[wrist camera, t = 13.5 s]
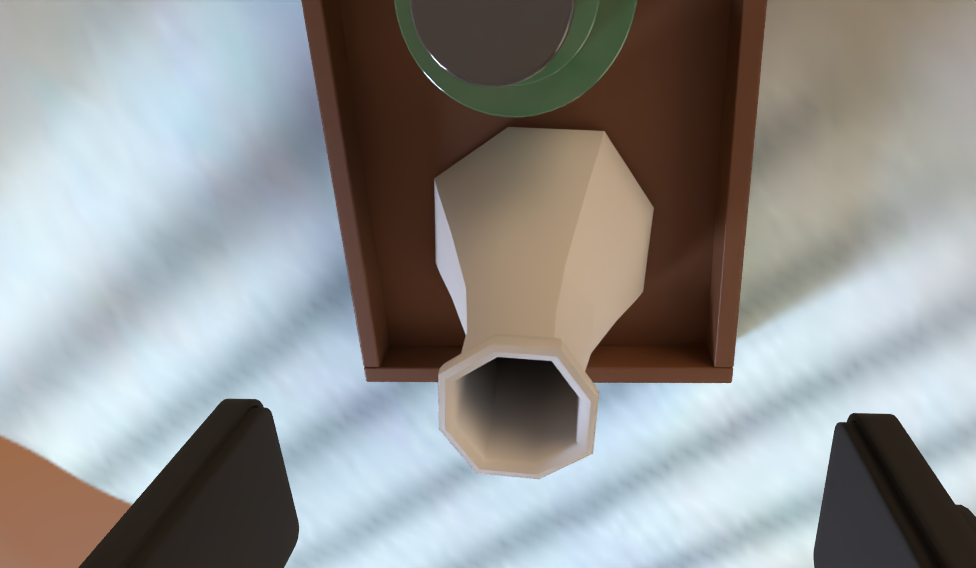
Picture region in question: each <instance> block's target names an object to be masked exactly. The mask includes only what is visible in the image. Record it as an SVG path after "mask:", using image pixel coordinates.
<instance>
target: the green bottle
mask: <svg viewBox="0 0 976 568" xmlns="http://www.w3.org/2000/svg"><path fill="white" fill-rule="evenodd" d="M394 4H395V10H396V16H397V20H398V24H399V27H400V30H401V33H402V36H403V38H404V41H405V43H406V45H407V48H408V50H409V52H410V53H411V55H412V57H413V58H414V60H415V62H416V63H417V65H418V66H419V67H420V69H421V70H422V71H423V73H424V74H425V75H426V77H427V78H428V79H429V80H430V81H431V82H432V83H433V84H434V85H435V86H436V87H437V88H439V89H440V90H441V91H442V92H444V93H445V94H446V95H447V96H449V97H450V98H452V99H454V100H455V101H457V102H459V103H460V104H462V105H464V106H466V107H469V108H471V109H473V110H475V111H479V112H482V113H486V114H489V115H495V116H501V117H527V116H535V115H539V114H543V113H547V112H550V111H553V110H555V109H558V108H560V107H563V106H565V105H567V104H568V103H570V102H572V101H574V100H576V99H577V98H579V97H580V96H581V95H583V94H584V93H585V92H587V91H588V90H590V89H591V88H592V87H593V86H594V85H595V84H596V83H597V82H598V81H599V80H600V79H601V78H602V77H603V76H604V75H605V73H606V72H607V71H608V70H609V68H610V67H611V66H612V65H613V63H614V61H615V60H616V58H617V57H618V55H619V53H620V52H621V50H622V48H623V46H624V44H625V42H626V39H627V37H628V35H629V32H630V29H631V26H632V23H633V20H634V16H635V11H636V6H637V0H394Z"/></svg>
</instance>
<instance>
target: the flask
mask: <svg viewBox="0 0 976 568" xmlns="http://www.w3.org/2000/svg"><path fill="white" fill-rule="evenodd" d="M434 198H435V261H436V265H437V267H438V270H439V272H440V274H441V276H442V278H443V281H444V283H445V285H446V287H447V289H448V291H449V293H450V295H451V297H452V300H453V302H454V305H455V308H456V310H457V313H458V316H459V318H460V321H461V324H462V326H463V329H464V332H465V334H466V337H465V341H464V344H463V348H462V352H461V354H460V355H458V356H456V357H454V358H453V359H451V360H449V361H448V362H446V363H444V364H443V365H442V367H441V368H440V369H439V374H438V391H439V430H440V431H441V432H442V433H443V434H444V436H445V437H446V438H447V439H448V440H449V441H450V443H451V444H452V445H453V446H454V447H455V449H456V450H457V451H458V452H459V453H460V454H461V456H462V457H463V458H464V459H465V460H466V461H467V463H468V464H469V465H470V466H471V467H472V468H473V470H474V471H475V472H476V473H480V474H490V475H501V476H511V477H522V478H533V479H540V478H542V477H544V476H546V475H549V474H551V473H553V472H555V471H557V470H559V469H561V468H563V467H565V466H568V465H570V464H572V463H574V462H576V461H578V460H580V459H582V458H584V457H586V456H589V455H591V454H593V447H594V437H595V428H596V418H597V409H598V399H599V392H598V390H597V388H596V386H595V384H594V383H593V382H592V380H591V379H590V378H589V376H588V375H587V374H586V372H585V370H586V367H587V364H588V361H589V358H590V355H591V353H592V352H593V350H594V349H595V348H596V346H597V345H598V344H599V343H600V341H601V340H602V339H603V337H604V336H605V335H606V334H607V332H608V331H609V330H610V328H611V327H612V326H613V325H614V323H615V322H616V321H617V320H618V319H619V318H620V317H621V316H622V314H623V313H624V312H625V311H626V310H627V309H628V308H629V307H630V306H631V305H632V304H633V303H634V302H635V301H636V300H637V299H638V297H639V296H640V295H641V293H642V292H643V289H644V281H645V273H646V265H647V257H648V249H649V242H650V234H651V226H652V218H653V210H654V207H653V206H652V204H651V203H650V201H649V200H648V198H647V196H646V195H645V193H644V192H643V190H642V189H641V187H640V186H639V184H638V183H637V181H636V179H635V178H634V176H633V175H632V173H631V172H630V170H629V169H628V167H627V165H626V164H625V162H624V161H623V159H622V158H621V156H620V155H619V153H618V151H617V150H616V148H615V147H614V145H613V144H612V142H611V141H610V139H609V138H608V136H607V134H606V133H605V131H592V130H569V129H545V128H522V127H507V128H506V129H505V130H503V131H502V132H500V133H499V134H497V135H496V136H494V137H493V138H492V139H490V140H489V141H487V142H486V143H484V144H483V145H482V146H480V147H479V148H477V149H476V150H474V151H473V152H472V153H470V154H469V155H467V156H466V157H464V158H463V159H461V160H460V161H459V162H457V163H456V164H454V165H453V166H451V167H450V168H449V169H447V170H446V171H444V172H443V173H441V174H440V175H439V176H437V177H436V178H434Z"/></svg>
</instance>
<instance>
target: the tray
mask: <svg viewBox="0 0 976 568" xmlns="http://www.w3.org/2000/svg"><path fill="white" fill-rule="evenodd" d="M301 1H302V7H303V12H304V18H305V24H306V30H307V36H308V42H309V48H310V54H311V59H312V65H313V71H314V77H315V83H316V89H317V95H318V100H319V106H320V112H321V118H322V124H323V130H324V136H325V142H326V147H327V153H328V159H329V165H330V171H331V177H332V183H333V188H334V194H335V200H336V206H337V212H338V218H339V224H340V230H341V235H342V241H343V247H344V253H345V259H346V265H347V271H348V276H349V282H350V288H351V294H352V300H353V306H354V312H355V318H356V323H357V329H358V335H359V341H360V347H361V353H362V359H363V365H364V370H365V376H366V381H367V382H438V374H439V369H440V368H441V367H442V365H443V364H444V363H446V362H448V361H449V360H451V359H453V358H454V357H456V356H458V355H460V354H461V352H462V348H463V344H464V341H465V337H466V334H465V332H464V329H463V326H462V324H461V321H460V318H459V316H458V313H457V310H456V308H455V305H454V302H453V300H452V297H451V295H450V293H449V291H448V289H447V287H446V285H445V283H444V281H443V278H442V276H441V274H440V272H439V270H438V267H437V265H436V261H435V198H434V178H436V177H437V176H439V175H440V174H441V173H443V172H444V171H446V170H447V169H449V168H450V167H451V166H453V165H454V164H456V163H457V162H459V161H460V160H461V159H463V158H464V157H466V156H467V155H469V154H470V153H472V152H473V151H474V150H476V149H477V148H479V147H480V146H482V145H483V144H484V143H486V142H487V141H489V140H490V139H492V138H493V137H494V136H496V135H497V134H499V133H500V132H502V131H503V130H505V129H506V128H507V127H522V128H545V129H569V130H592V131H605V133H606V134H607V136H608V138H609V139H610V141H611V142H612V144H613V145H614V147H615V148H616V150H617V151H618V153H619V155H620V156H621V158H622V159H623V161H624V162H625V164H626V165H627V167H628V169H629V170H630V172H631V173H632V175H633V176H634V178H635V179H636V181H637V183H638V184H639V186H640V187H641V189H642V190H643V192H644V193H645V195H646V196H647V198H648V200H649V201H650V203H651V204H652V206H653V207H654V210H653V218H652V226H651V234H650V242H649V249H648V257H647V265H646V273H645V281H644V289H643V292H642V293H641V295H640V296H639V297H638V299H637V300H636V301H635V302H634V303H633V304H632V305H631V306H630V307H629V308H628V309H627V310H626V311H625V312H624V313H623V314H622V316H621V317H620V318H619V319H618V320H617V321H616V322H615V323H614V325H613V326H612V327H611V328H610V330H609V331H608V332H607V334H606V335H605V336H604V337H603V339H602V340H601V341H600V343H599V344H598V345H597V346H596V348H595V349H594V350H593V352H592V353H591V355H590V358H589V361H588V364H587V367H586V370H585V372H586V374H587V375H588V376H589V378H590V379H591V380H592V382H593V383H731V382H732V375H733V366H734V355H735V344H736V333H737V322H738V311H739V300H740V290H741V279H742V268H743V257H744V246H745V235H746V224H747V213H748V202H749V191H750V181H751V170H752V159H753V148H754V137H755V126H756V115H757V104H758V93H759V83H760V72H761V61H762V50H763V39H764V28H765V17H766V6H767V0H637V6H636V11H635V16H634V20H633V23H632V26H631V29H630V32H629V35H628V37H627V39H626V42H625V44H624V46H623V48H622V50H621V52H620V53H619V55H618V57H617V58H616V60H615V61H614V63H613V65H612V66H611V67H610V68H609V70H608V71H607V72H606V73H605V75H604V76H603V77H602V78H601V79H600V80H599V81H598V82H597V83H596V84H595V85H594V86H593V87H592V88H591V89H590V90H588V91H587V92H585V93H584V94H583V95H581V96H580V97H579V98H577V99H576V100H574V101H572V102H570V103H568V104H567V105H565V106H563V107H560V108H558V109H555V110H553V111H550V112H547V113H543V114H539V115H535V116H527V117H501V116H495V115H489V114H486V113H482V112H479V111H475V110H473V109H471V108H469V107H466V106H464V105H462V104H460V103H459V102H457V101H455V100H454V99H452V98H450V97H449V96H447V95H446V94H445V93H444V92H442V91H441V90H440V89H439V88H437V87H436V86H435V85H434V84H433V83H432V82H431V81H430V80H429V79H428V78H427V77H426V75H425V74H424V73H423V71H422V70H421V69H420V67H419V66H418V65H417V63H416V62H415V60H414V58H413V57H412V55H411V53H410V52H409V50H408V48H407V45H406V43H405V41H404V38H403V36H402V33H401V30H400V27H399V24H398V20H397V16H396V10H395V4H394V0H301Z"/></svg>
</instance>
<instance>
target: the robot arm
mask: <svg viewBox="0 0 976 568" xmlns="http://www.w3.org/2000/svg"><path fill="white" fill-rule="evenodd" d="M298 534H299V523H298V518H297V514H296V510H295V506H294V502H293V498H292V494H291V489H290V485H289V481H288V477H287V473H286V469H285V465H284V461H283V457H282V453H281V448H280V444H279V440H278V436H277V432H276V428H275V424H274V420H273V416H272V413H271V411H270V410H269V409H268V408H264V407H263V405H262V403H261V402H260V401H259V400H256V399H225V400H223V401H222V402H221V403H220V404H219V405H218V406H217V407H216V408H215V410H214V411H213V412H212V413H211V414H210V415H209V417H208V418H207V419H206V420H205V421H204V422H203V424H202V425H201V426H200V427H199V428H198V429H197V430H196V432H195V433H194V434H193V435H192V436H191V437H190V439H189V440H188V441H187V442H186V443H185V444H184V446H183V447H182V448H181V449H180V450H179V451H178V453H177V454H176V455H175V456H174V457H173V458H172V460H171V461H170V462H169V463H168V464H167V465H166V466H165V468H164V469H163V470H162V471H161V472H160V473H159V475H158V476H157V477H156V478H155V479H154V480H153V482H152V483H151V484H150V485H149V486H148V487H147V489H146V490H145V491H144V492H143V493H142V494H141V496H140V497H139V498H138V499H137V500H136V501H135V502H134V504H133V505H132V506H131V507H130V508H129V510H128V511H127V512H126V513H125V514H124V515H123V517H122V518H121V519H120V520H119V521H118V522H117V523H116V525H115V526H114V527H113V528H112V529H111V530H110V532H109V533H108V534H107V535H106V536H105V537H104V539H103V540H102V541H101V542H100V543H99V544H98V545H97V547H96V548H95V549H94V550H93V551H92V552H91V554H90V555H89V556H88V557H87V558H86V560H85V561H84V562H83V563H82V564H81V565H80V567H79V568H284V567H285V565H286V563H287V561H288V559H289V557H290V555H291V553H292V551H293V549H294V547H295V545H296V543H297V539H298ZM814 567H815V568H976V517H975V516H974V515H973V513H972V512H971V511H970V510H969V509H968V508H966V507H964V506H962V505H955V503H954V502H953V500H952V499H951V497H950V496H949V495H948V493H947V492H946V490H945V489H944V487H943V486H942V484H941V483H940V481H939V480H938V478H937V477H936V475H935V474H934V472H933V471H932V469H931V468H930V466H929V465H928V463H927V462H926V460H925V459H924V457H923V456H922V454H921V453H920V451H919V450H918V448H917V447H916V445H915V444H914V442H913V441H912V439H911V438H910V437H909V435H908V434H907V432H906V431H905V429H904V428H903V426H902V425H901V423H900V422H899V420H898V419H897V418H896V417H895V416H894V415H892V414H867V413H853V414H851V415H850V416H849V418H848V420H847V422H839V423H837V425H836V426H835V430H834V436H833V441H832V447H831V453H830V459H829V465H828V471H827V476H826V482H825V488H824V494H823V500H822V506H821V512H820V517H819V523H818V529H817V535H816V541H815V547H814Z"/></svg>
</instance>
